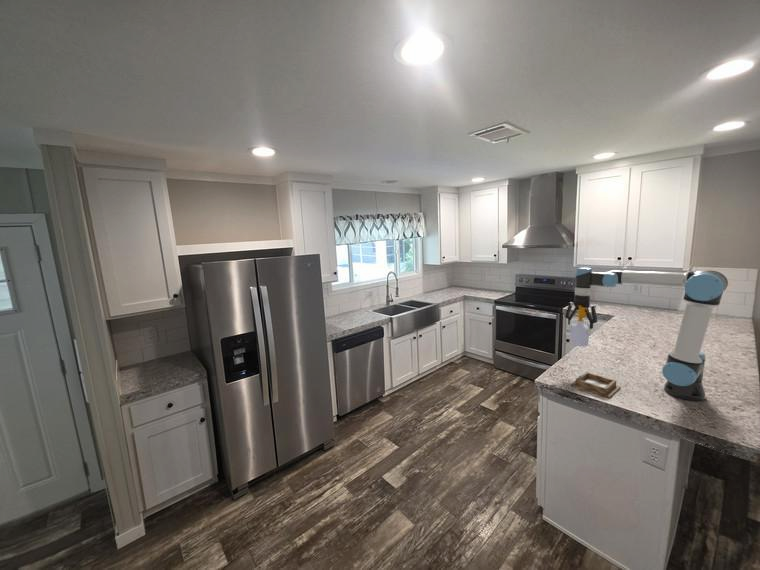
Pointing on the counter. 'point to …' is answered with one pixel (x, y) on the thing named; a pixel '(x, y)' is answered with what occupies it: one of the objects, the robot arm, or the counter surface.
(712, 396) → the counter surface
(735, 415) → the counter surface
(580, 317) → the orange capped white bottle
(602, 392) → the picture frame
